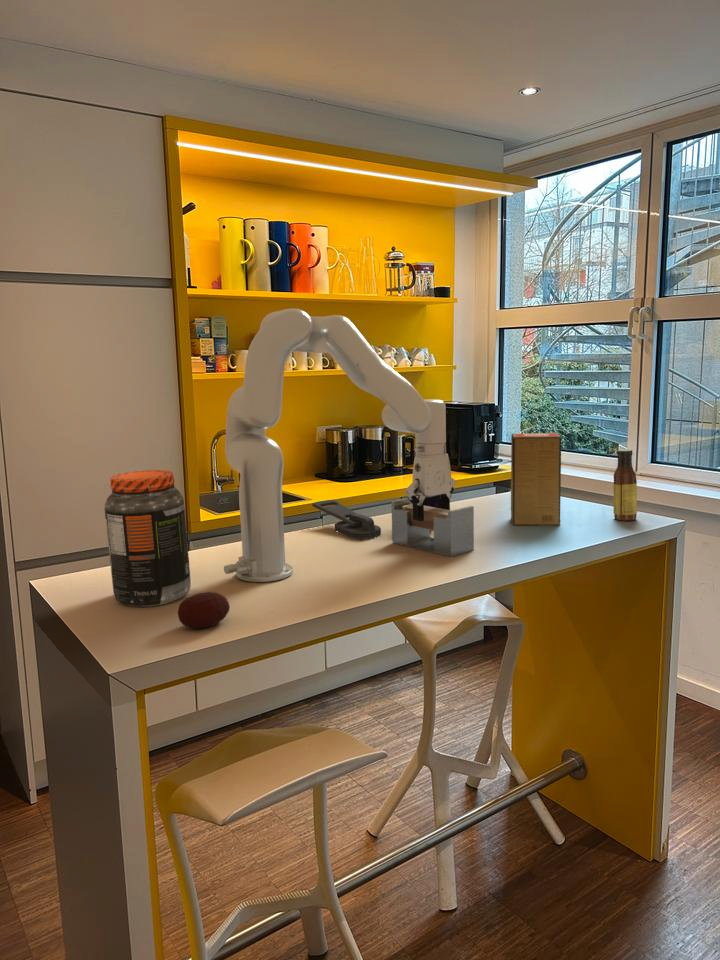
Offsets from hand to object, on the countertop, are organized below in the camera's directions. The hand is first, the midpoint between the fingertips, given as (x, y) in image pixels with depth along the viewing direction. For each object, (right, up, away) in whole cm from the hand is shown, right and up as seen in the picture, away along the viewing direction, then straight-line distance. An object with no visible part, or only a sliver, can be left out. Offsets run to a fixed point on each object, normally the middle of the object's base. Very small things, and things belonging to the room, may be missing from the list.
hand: (431, 517), depth 185 cm
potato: (-47, -18, -49) cm, 70 cm away
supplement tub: (-61, -15, -31) cm, 71 cm away
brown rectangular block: (0, -3, 0) cm, 3 cm away
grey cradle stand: (0, -8, +1) cm, 8 cm away
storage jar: (+3, -3, +26) cm, 27 cm away
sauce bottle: (+57, -2, +24) cm, 62 cm away
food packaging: (+32, -3, +24) cm, 40 cm away
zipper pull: (-22, -5, +22) cm, 31 cm away
